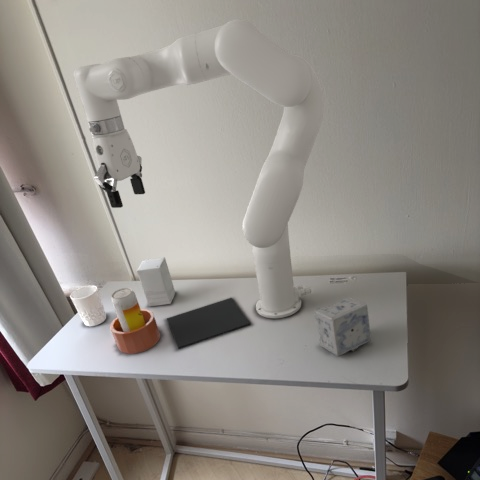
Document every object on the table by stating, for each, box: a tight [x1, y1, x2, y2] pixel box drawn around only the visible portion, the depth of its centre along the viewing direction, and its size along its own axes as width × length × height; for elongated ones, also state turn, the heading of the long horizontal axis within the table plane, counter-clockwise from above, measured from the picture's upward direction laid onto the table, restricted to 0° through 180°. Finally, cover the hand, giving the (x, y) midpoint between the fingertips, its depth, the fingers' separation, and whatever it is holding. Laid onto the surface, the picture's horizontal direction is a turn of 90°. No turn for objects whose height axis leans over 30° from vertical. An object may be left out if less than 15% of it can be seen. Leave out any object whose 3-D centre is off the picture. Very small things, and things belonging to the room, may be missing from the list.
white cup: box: [69, 284, 107, 327], centre depth 125 cm, size 8×8×10 cm
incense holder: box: [314, 296, 372, 357], centre depth 96 cm, size 10×8×10 cm
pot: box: [109, 308, 161, 355], centre depth 113 cm, size 12×12×6 cm
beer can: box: [110, 287, 146, 332], centre depth 110 cm, size 6×6×15 cm
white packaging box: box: [136, 256, 176, 307], centre depth 129 cm, size 7×7×13 cm
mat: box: [166, 297, 251, 350], centre depth 116 cm, size 20×16×1 cm
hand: (129, 200), depth 106 cm, fingers open, 9 cm apart
